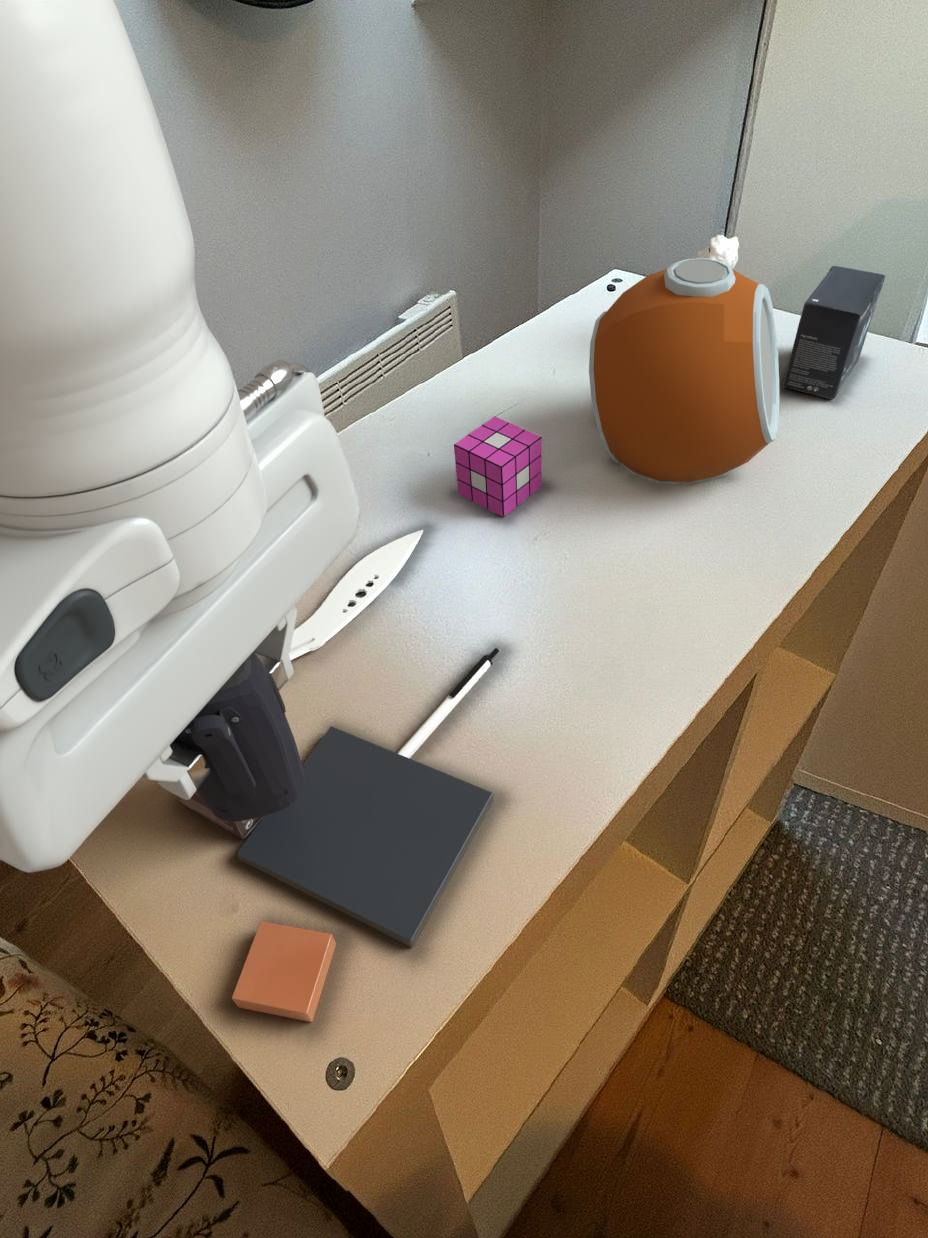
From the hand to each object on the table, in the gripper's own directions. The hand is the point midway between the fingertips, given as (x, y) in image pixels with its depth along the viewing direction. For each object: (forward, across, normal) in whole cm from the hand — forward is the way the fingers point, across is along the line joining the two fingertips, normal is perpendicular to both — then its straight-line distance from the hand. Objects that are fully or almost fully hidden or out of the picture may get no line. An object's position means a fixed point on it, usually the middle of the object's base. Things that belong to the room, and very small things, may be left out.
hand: (230, 730), depth 37 cm
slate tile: (+19, -6, +1) cm, 20 cm away
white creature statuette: (+18, -75, +2) cm, 77 cm away
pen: (+19, -14, 0) cm, 24 cm away
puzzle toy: (+19, -42, -7) cm, 46 cm away
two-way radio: (+6, 0, 0) cm, 6 cm away
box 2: (+18, -73, +16) cm, 77 cm away
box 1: (+19, -4, -9) cm, 22 cm away
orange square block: (+19, +4, +1) cm, 19 cm away
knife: (+19, -19, -15) cm, 31 cm away
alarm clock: (+18, -55, +6) cm, 58 cm away
